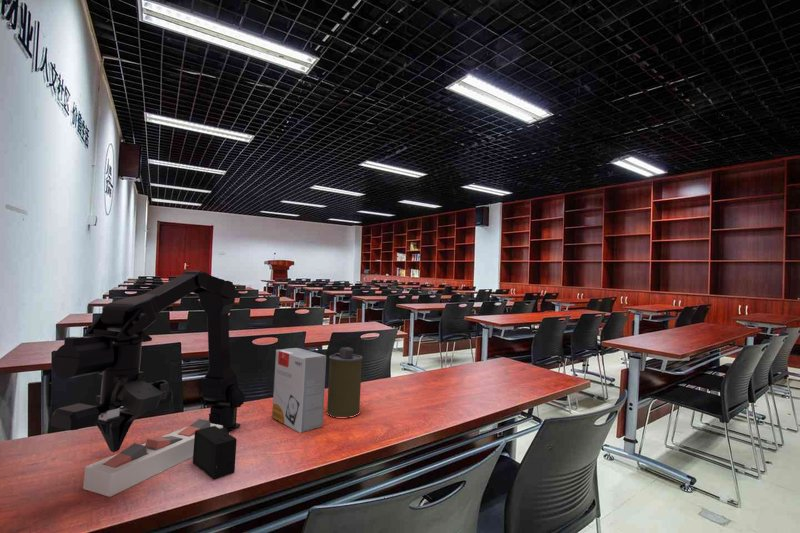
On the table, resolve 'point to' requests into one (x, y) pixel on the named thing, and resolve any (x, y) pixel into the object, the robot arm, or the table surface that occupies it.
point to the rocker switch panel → (138, 466)
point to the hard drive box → (299, 388)
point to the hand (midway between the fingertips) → (114, 451)
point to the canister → (344, 383)
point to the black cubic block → (214, 451)
